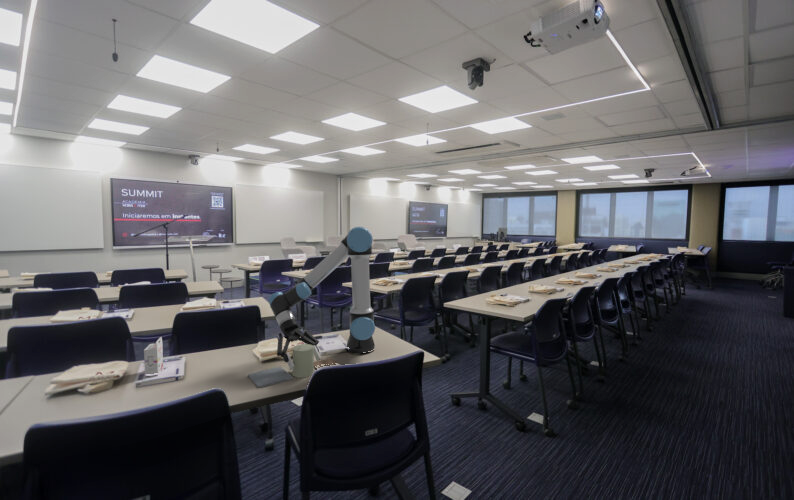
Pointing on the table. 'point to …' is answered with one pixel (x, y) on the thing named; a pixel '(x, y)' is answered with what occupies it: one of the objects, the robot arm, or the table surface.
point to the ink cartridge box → (153, 357)
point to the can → (303, 360)
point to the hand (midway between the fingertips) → (306, 363)
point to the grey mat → (269, 377)
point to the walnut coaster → (325, 362)
